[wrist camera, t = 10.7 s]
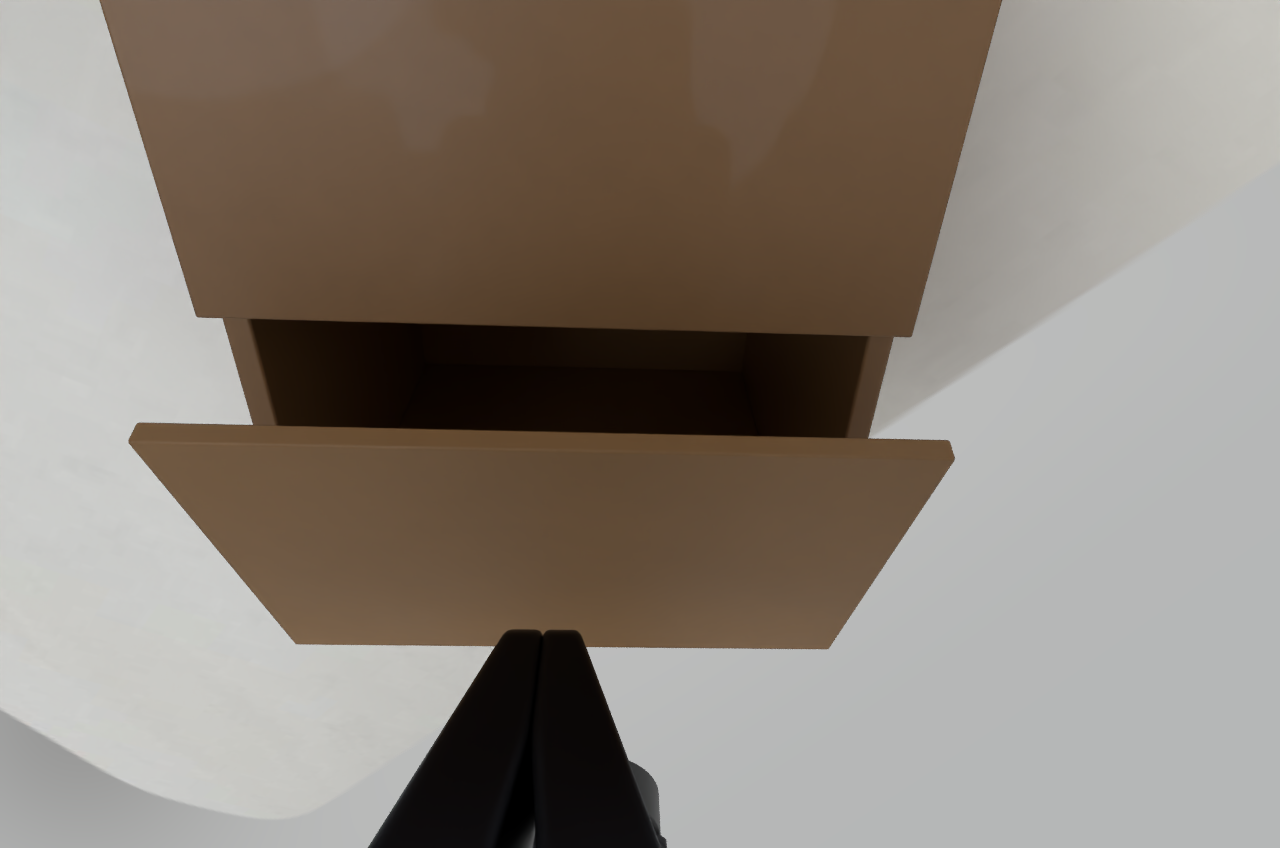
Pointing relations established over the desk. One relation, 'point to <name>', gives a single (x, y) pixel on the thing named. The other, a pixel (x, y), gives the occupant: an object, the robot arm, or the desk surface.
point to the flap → (547, 529)
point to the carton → (556, 202)
